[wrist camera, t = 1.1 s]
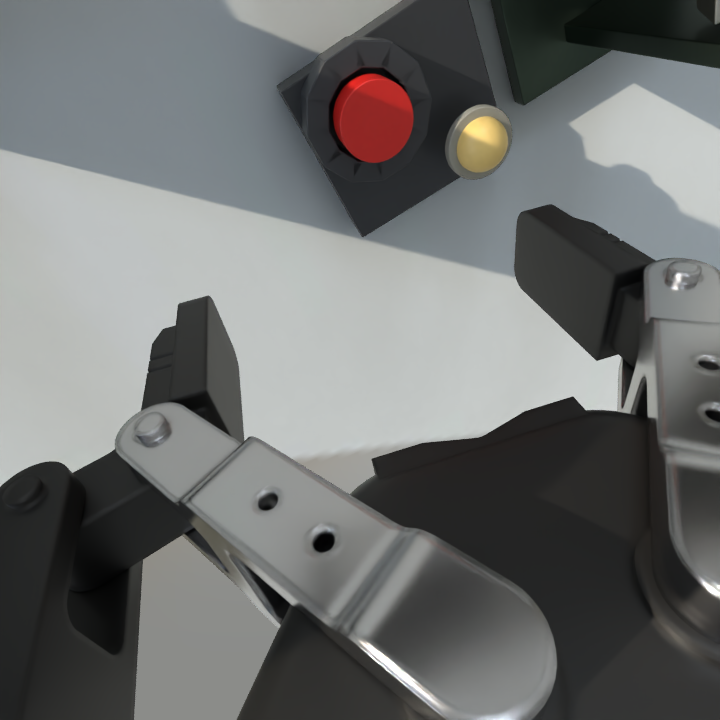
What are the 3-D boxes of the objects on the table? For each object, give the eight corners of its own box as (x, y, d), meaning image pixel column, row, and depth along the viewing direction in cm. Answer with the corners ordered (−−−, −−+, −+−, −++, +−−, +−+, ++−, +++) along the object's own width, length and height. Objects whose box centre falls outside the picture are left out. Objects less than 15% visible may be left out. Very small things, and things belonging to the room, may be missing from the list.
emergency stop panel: (271, 78, 26) (280, 90, 23) (442, -39, 25) (474, -42, 22) (355, 226, 33) (370, 250, 30) (493, 140, 32) (523, 156, 29)
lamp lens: (429, 125, 27) (449, 139, 25) (490, 86, 27) (516, 96, 25) (451, 184, 30) (471, 201, 28) (507, 149, 29) (532, 164, 27)
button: (319, 100, 25) (325, 107, 23) (384, 56, 24) (395, 61, 23) (353, 168, 27) (361, 177, 26) (413, 129, 27) (425, 137, 25)
